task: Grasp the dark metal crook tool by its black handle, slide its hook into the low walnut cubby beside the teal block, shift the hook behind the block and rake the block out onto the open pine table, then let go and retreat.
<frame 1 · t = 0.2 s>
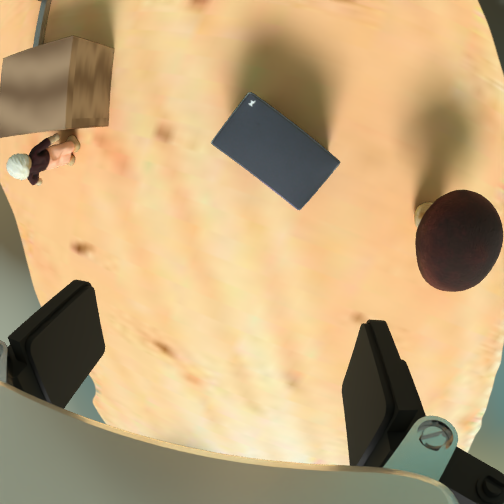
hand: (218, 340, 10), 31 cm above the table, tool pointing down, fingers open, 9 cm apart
small box: (278, 145, 38), on the table
decorative mushroom: (424, 214, 38), on the table
cubby: (74, 90, 37), on the table
grandmother figurine: (70, 154, 41), on the table
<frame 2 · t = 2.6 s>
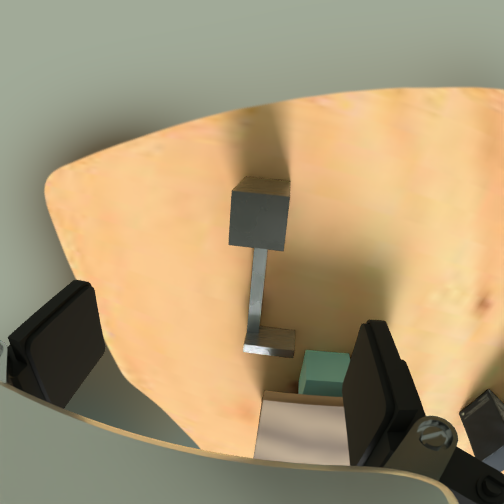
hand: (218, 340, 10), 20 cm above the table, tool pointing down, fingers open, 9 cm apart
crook: (266, 200, 29), on the table
block: (323, 367, 36), on the table
small box: (483, 410, 37), on the table
cubby: (320, 377, 36), on the table
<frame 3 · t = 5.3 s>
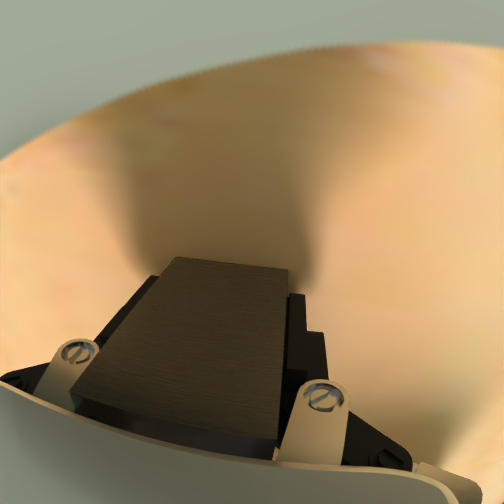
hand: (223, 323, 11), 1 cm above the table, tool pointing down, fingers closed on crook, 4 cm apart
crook: (228, 311, 12), on the table, touching gripper
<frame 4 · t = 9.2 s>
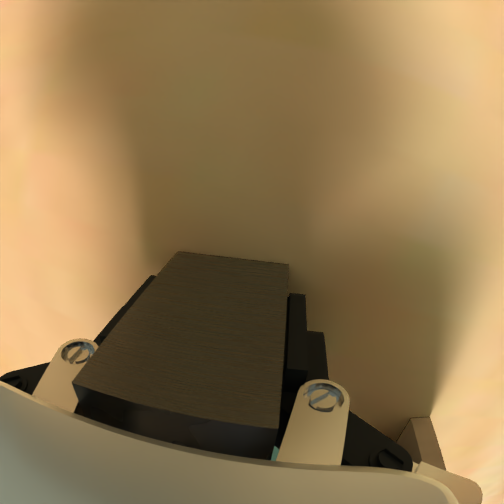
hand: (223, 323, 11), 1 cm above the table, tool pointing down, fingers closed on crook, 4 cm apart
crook: (229, 306, 12), on the table, touching gripper
cubby: (294, 469, 16), on the table
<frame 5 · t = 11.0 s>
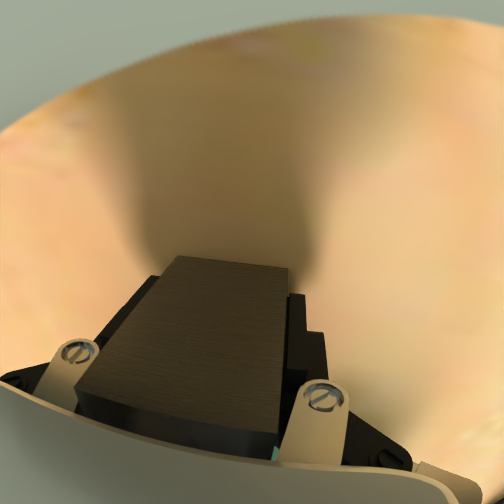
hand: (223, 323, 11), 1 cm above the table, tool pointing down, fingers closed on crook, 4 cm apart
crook: (229, 310, 12), on the table, touching block, gripper
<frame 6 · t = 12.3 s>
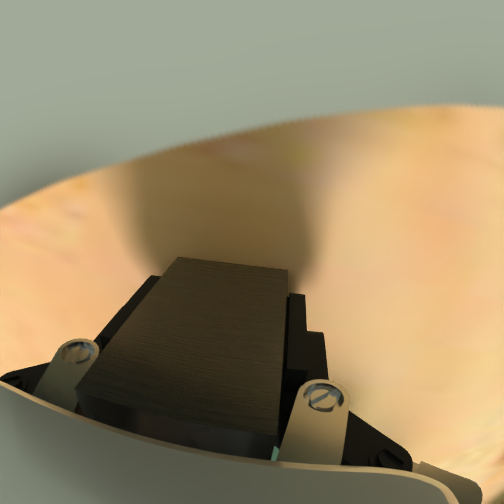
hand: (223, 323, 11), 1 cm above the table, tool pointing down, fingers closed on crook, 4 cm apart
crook: (229, 311, 12), on the table, touching block, gripper
when the fingers open (1 cm above the table, at t = 13.2 s): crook stays where it is, on the table.
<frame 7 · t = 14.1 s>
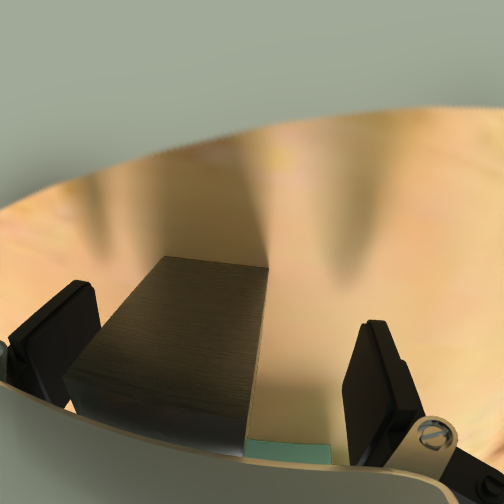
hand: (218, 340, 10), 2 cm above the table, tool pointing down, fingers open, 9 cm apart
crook: (213, 308, 13), on the table
block: (280, 463, 17), on the table
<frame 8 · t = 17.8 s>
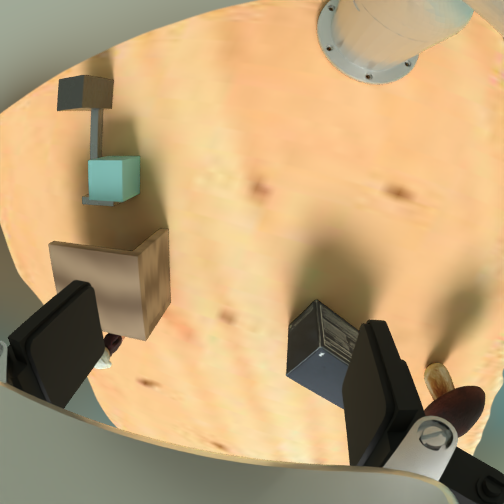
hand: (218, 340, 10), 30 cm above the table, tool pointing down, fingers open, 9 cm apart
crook: (100, 95, 36), on the table
block: (123, 174, 40), on the table
small box: (327, 331, 45), on the table
decorative mushroom: (432, 367, 46), on the table
cubby: (128, 261, 45), on the table
grandmother figurine: (131, 315, 49), on the table
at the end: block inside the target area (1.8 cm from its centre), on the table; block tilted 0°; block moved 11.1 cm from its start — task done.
